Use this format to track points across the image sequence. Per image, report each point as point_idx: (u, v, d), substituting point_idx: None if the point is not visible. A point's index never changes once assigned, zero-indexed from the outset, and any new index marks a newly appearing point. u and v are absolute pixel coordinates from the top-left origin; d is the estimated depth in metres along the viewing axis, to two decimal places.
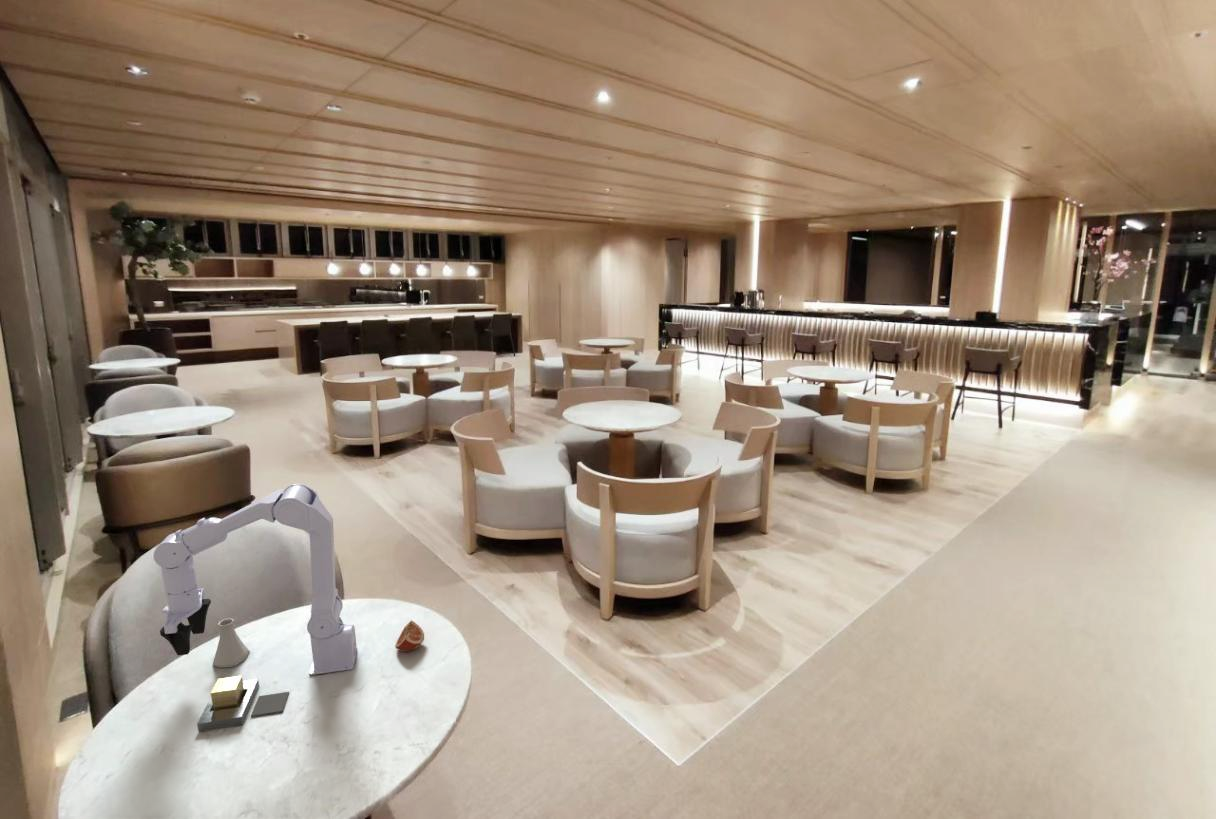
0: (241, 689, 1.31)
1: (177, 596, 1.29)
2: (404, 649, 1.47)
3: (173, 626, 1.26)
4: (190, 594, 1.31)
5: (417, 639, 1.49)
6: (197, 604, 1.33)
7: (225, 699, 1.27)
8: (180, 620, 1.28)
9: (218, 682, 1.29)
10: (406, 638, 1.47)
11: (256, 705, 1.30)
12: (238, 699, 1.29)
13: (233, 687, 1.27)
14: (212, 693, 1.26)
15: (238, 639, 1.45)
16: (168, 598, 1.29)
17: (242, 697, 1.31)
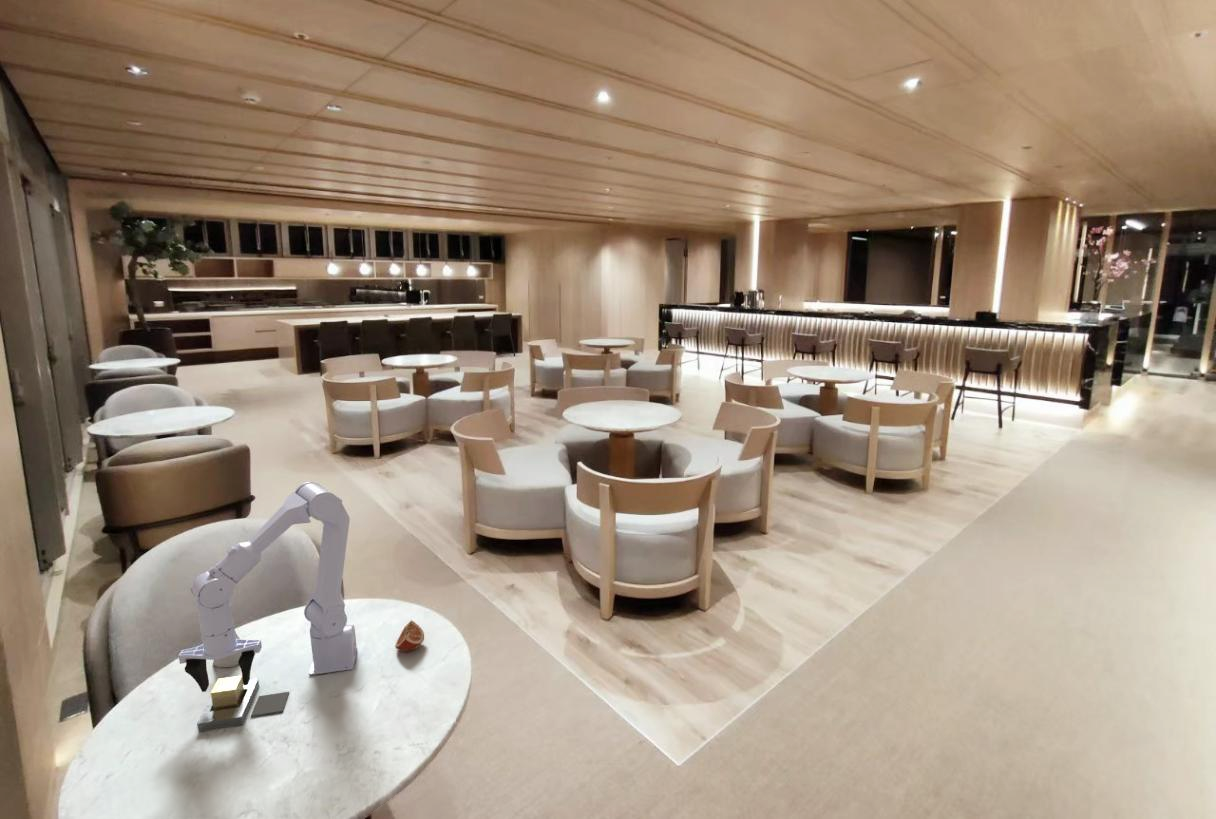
0: (241, 689, 1.31)
1: None
2: (404, 649, 1.47)
3: (179, 656, 1.24)
4: (205, 639, 1.23)
5: (417, 639, 1.49)
6: (212, 653, 1.23)
7: (225, 699, 1.27)
8: (189, 656, 1.24)
9: (218, 682, 1.29)
10: (406, 638, 1.47)
11: (256, 705, 1.30)
12: (238, 699, 1.29)
13: (233, 687, 1.27)
14: (212, 693, 1.26)
15: None
16: None
17: (242, 697, 1.31)
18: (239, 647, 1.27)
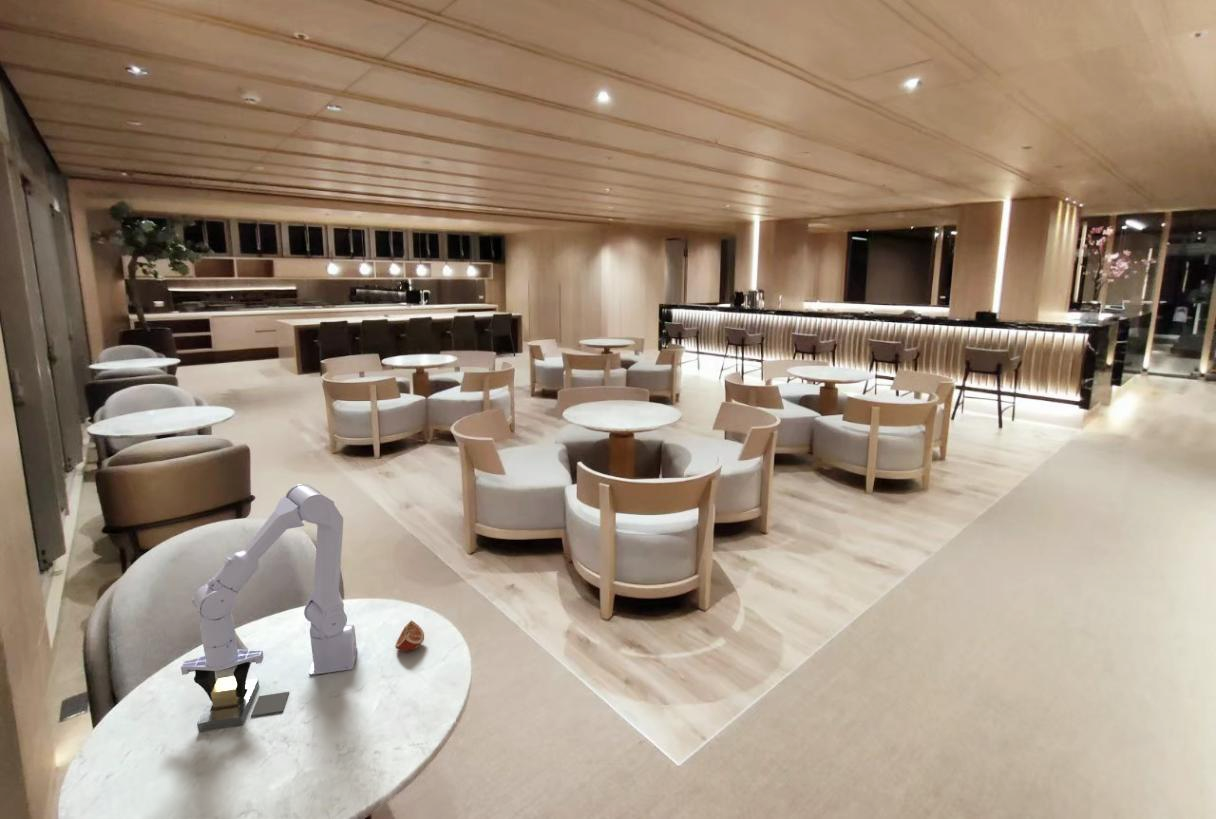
0: None
1: None
2: (404, 649, 1.47)
3: (181, 667, 1.24)
4: (207, 651, 1.23)
5: (417, 639, 1.49)
6: (214, 665, 1.24)
7: (225, 699, 1.27)
8: (191, 667, 1.24)
9: (218, 682, 1.29)
10: (406, 638, 1.47)
11: (256, 705, 1.30)
12: (238, 699, 1.29)
13: (233, 687, 1.27)
14: (212, 693, 1.26)
15: (238, 639, 1.45)
16: None
17: (242, 697, 1.31)
18: (241, 658, 1.28)
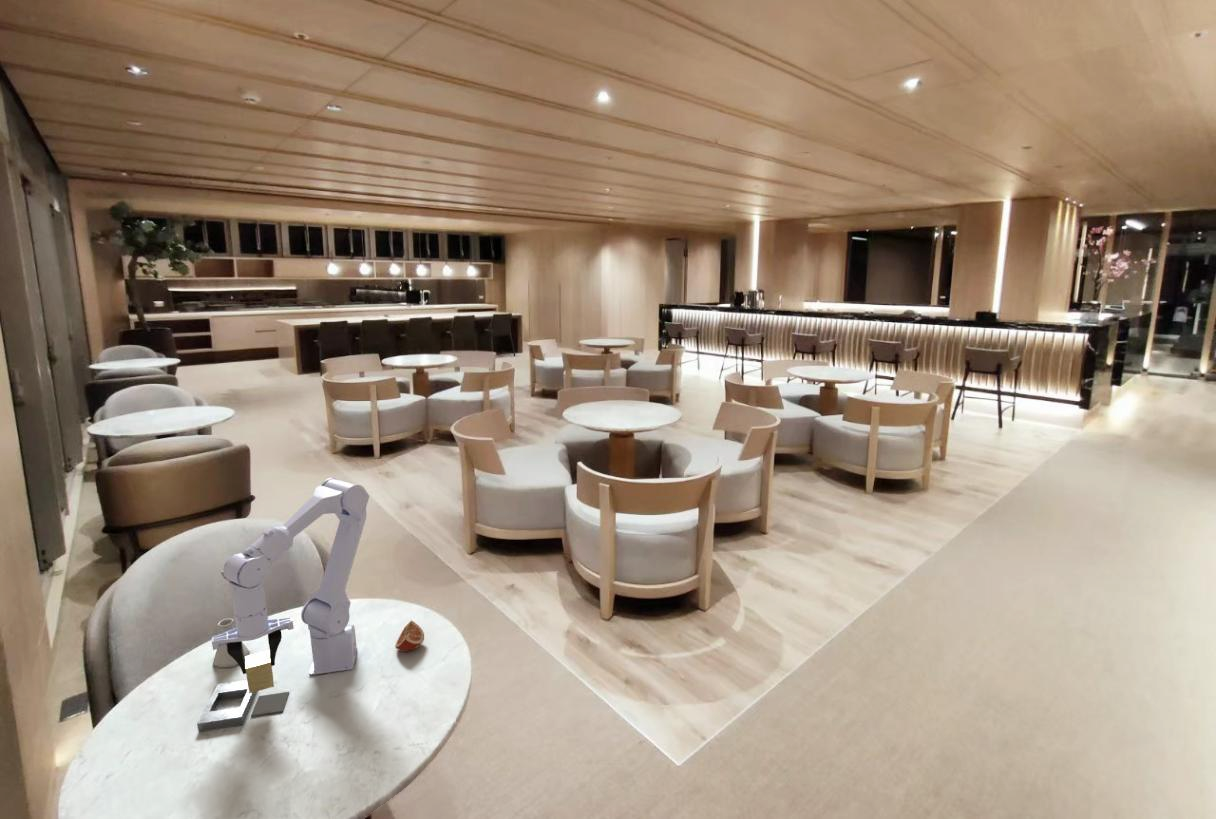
0: None
1: None
2: (404, 649, 1.47)
3: None
4: (241, 621, 1.23)
5: (417, 639, 1.49)
6: (249, 634, 1.24)
7: (260, 673, 1.27)
8: (223, 641, 1.23)
9: (247, 659, 1.28)
10: (406, 638, 1.47)
11: (256, 705, 1.30)
12: None
13: (267, 660, 1.28)
14: (247, 669, 1.25)
15: None
16: None
17: None
18: (272, 626, 1.28)
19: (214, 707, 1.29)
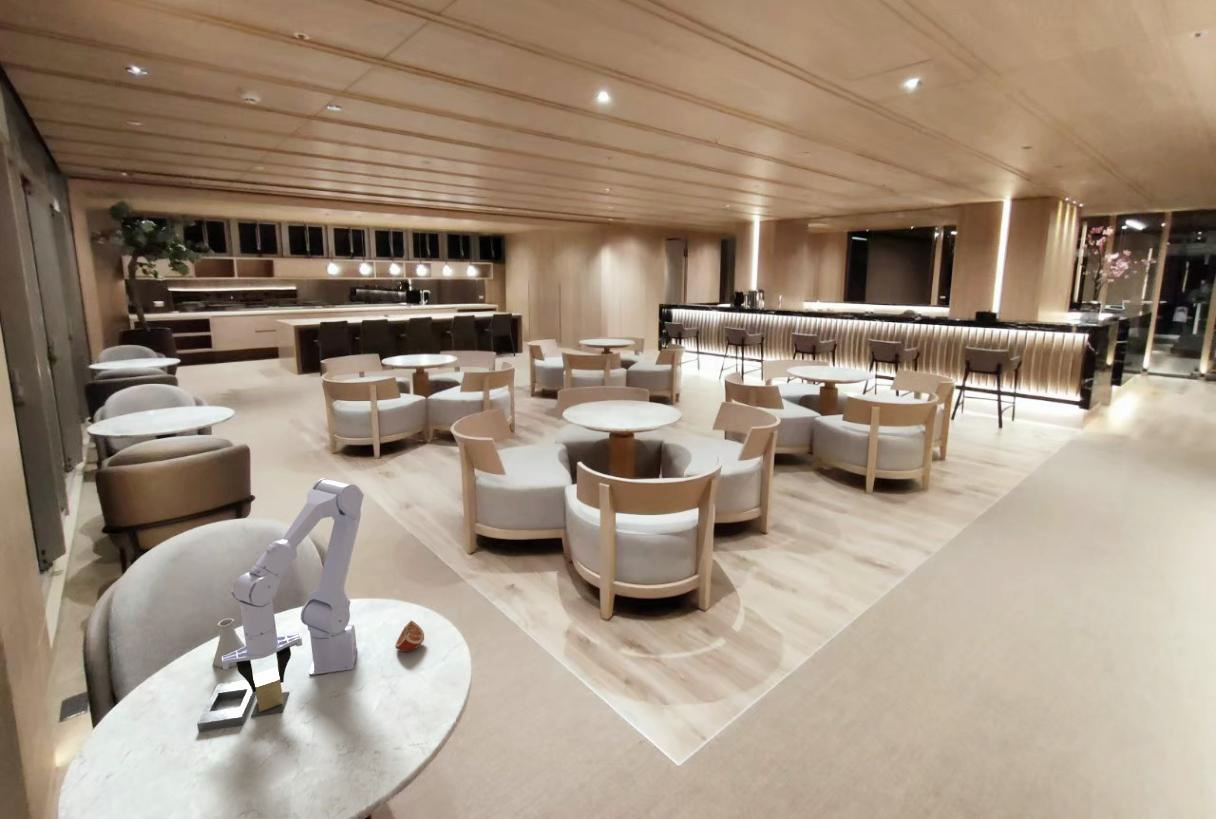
0: None
1: (244, 635, 1.25)
2: (404, 649, 1.47)
3: (222, 662, 1.23)
4: (252, 639, 1.24)
5: (417, 639, 1.49)
6: (260, 652, 1.25)
7: (270, 691, 1.28)
8: (233, 660, 1.24)
9: (256, 677, 1.29)
10: (406, 638, 1.47)
11: (256, 705, 1.30)
12: None
13: (277, 677, 1.29)
14: (257, 687, 1.26)
15: (238, 639, 1.45)
16: None
17: None
18: (281, 643, 1.29)
19: (214, 707, 1.29)
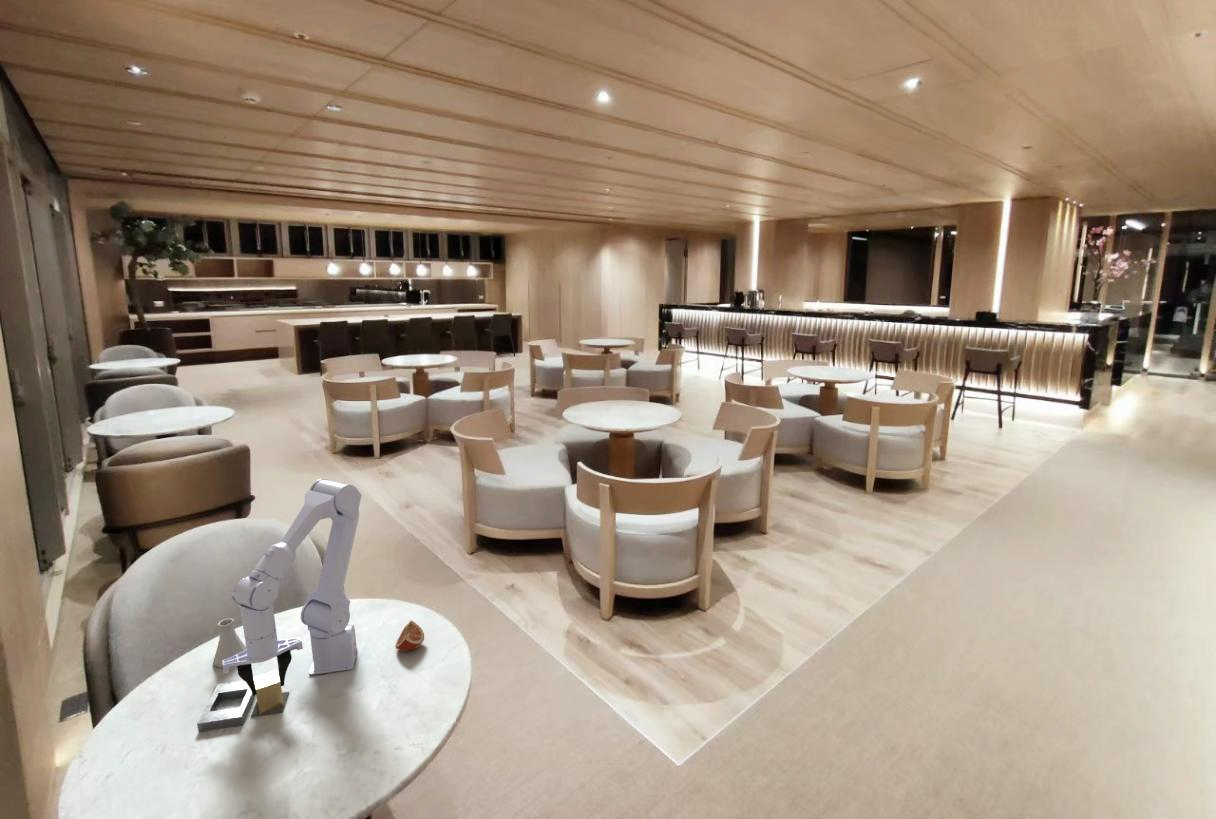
0: None
1: (245, 638, 1.25)
2: (404, 649, 1.47)
3: None
4: (252, 643, 1.24)
5: (417, 639, 1.49)
6: (261, 656, 1.25)
7: (270, 693, 1.28)
8: (234, 663, 1.24)
9: (256, 680, 1.29)
10: (406, 638, 1.47)
11: (256, 705, 1.30)
12: None
13: (277, 680, 1.29)
14: (257, 689, 1.27)
15: (238, 639, 1.45)
16: None
17: None
18: (282, 647, 1.29)
19: (214, 707, 1.29)
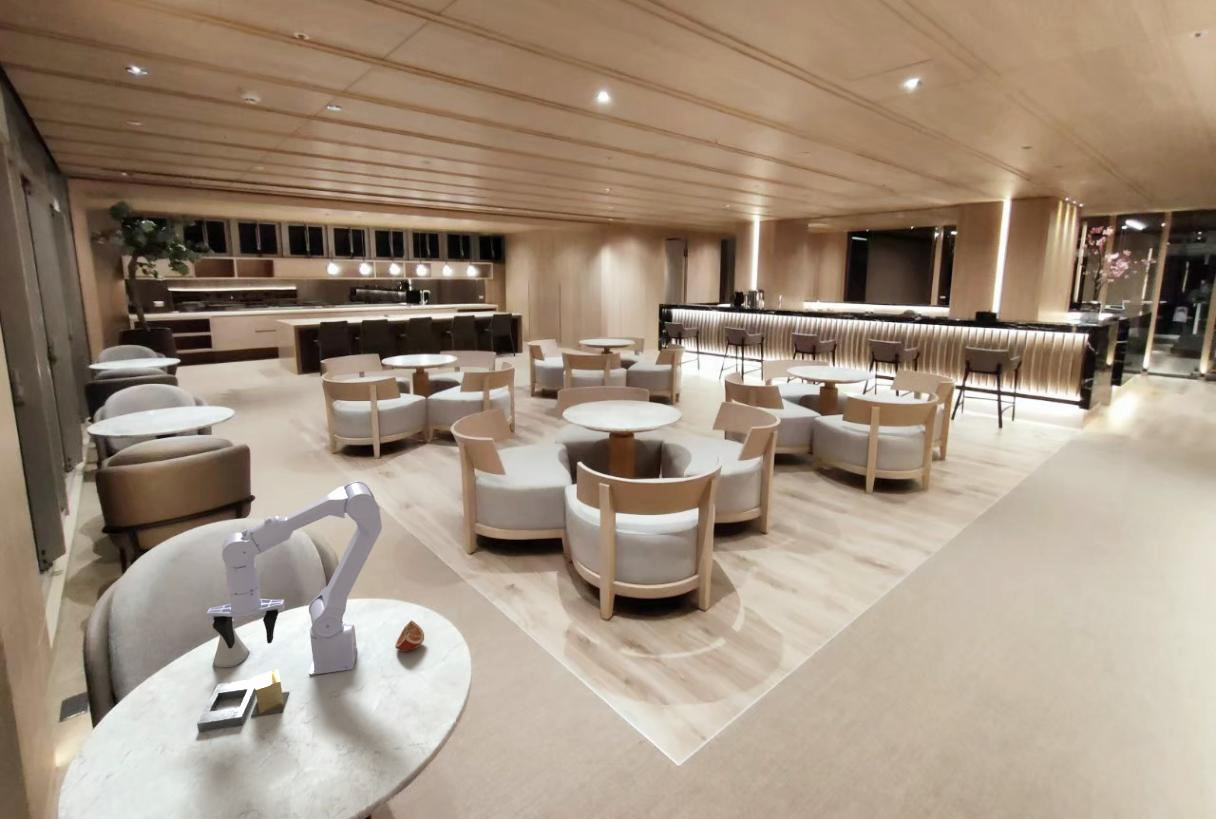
0: None
1: None
2: (404, 649, 1.47)
3: (207, 614, 1.30)
4: (232, 597, 1.29)
5: (417, 639, 1.49)
6: (239, 611, 1.30)
7: (270, 693, 1.28)
8: (216, 613, 1.30)
9: (256, 680, 1.29)
10: (406, 638, 1.47)
11: (256, 705, 1.30)
12: None
13: (277, 680, 1.29)
14: (257, 689, 1.27)
15: (238, 639, 1.45)
16: None
17: None
18: (264, 606, 1.33)
19: (214, 707, 1.29)
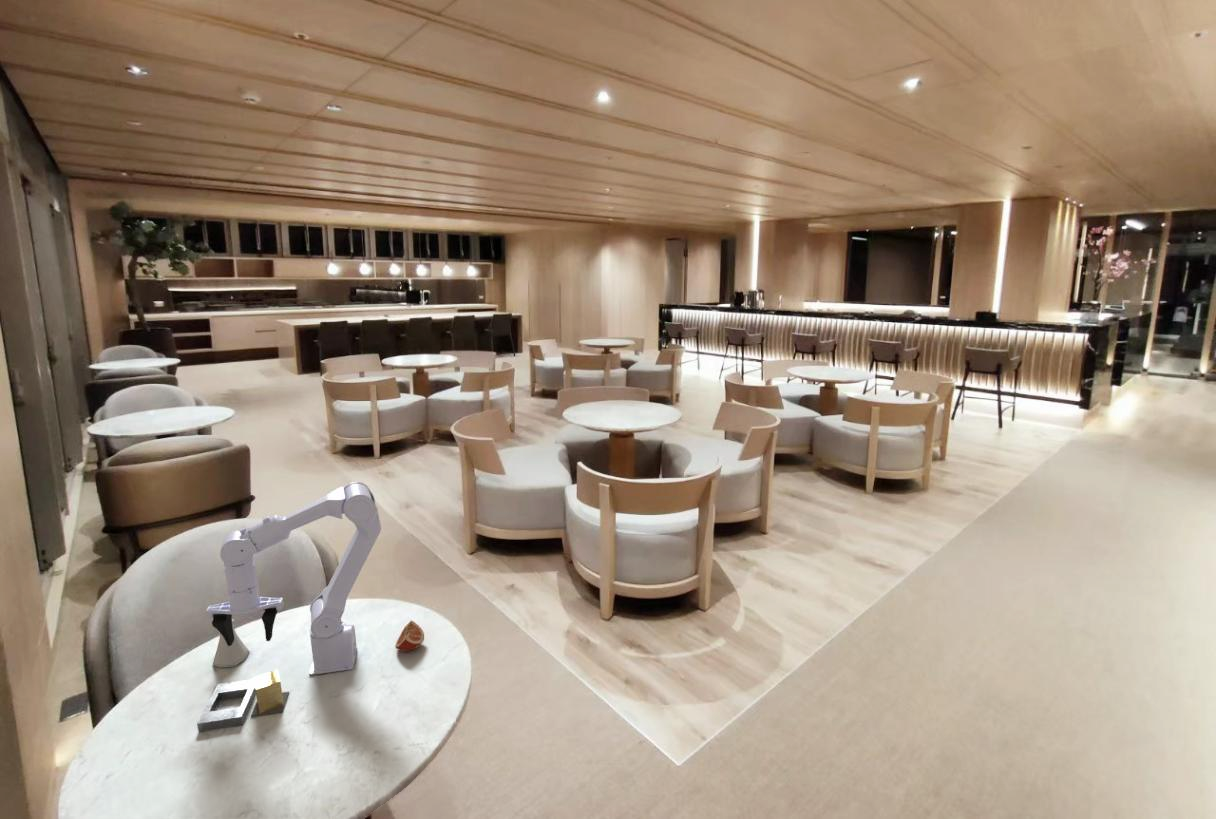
0: None
1: None
2: (404, 649, 1.47)
3: (206, 611, 1.31)
4: (231, 595, 1.30)
5: (417, 639, 1.49)
6: (237, 609, 1.30)
7: (270, 693, 1.28)
8: (215, 611, 1.31)
9: (256, 680, 1.29)
10: (406, 638, 1.47)
11: (256, 705, 1.30)
12: None
13: (277, 680, 1.29)
14: (257, 689, 1.27)
15: (238, 639, 1.45)
16: None
17: None
18: (262, 604, 1.34)
19: (214, 707, 1.29)
